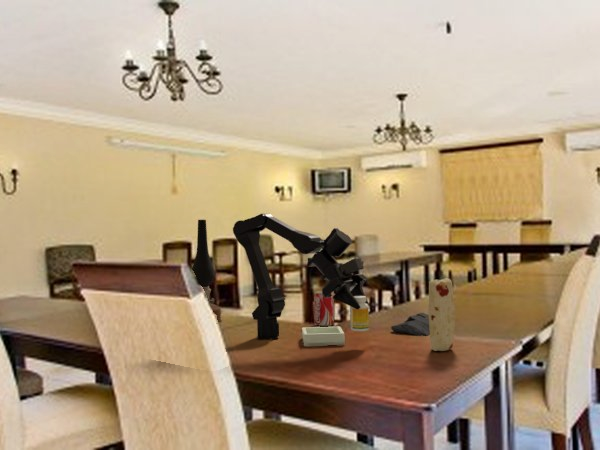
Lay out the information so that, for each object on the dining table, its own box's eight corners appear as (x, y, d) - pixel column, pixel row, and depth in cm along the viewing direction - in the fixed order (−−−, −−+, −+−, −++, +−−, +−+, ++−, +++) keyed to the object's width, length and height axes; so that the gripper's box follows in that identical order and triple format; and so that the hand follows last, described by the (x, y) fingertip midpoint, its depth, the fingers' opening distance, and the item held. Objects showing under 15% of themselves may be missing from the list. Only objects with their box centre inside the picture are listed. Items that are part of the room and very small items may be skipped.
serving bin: (304, 346, 160) (303, 334, 160) (302, 338, 172) (302, 327, 172) (344, 345, 160) (344, 333, 160) (340, 337, 172) (339, 326, 172)
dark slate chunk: (383, 334, 180) (382, 319, 180) (409, 324, 198) (409, 311, 198) (427, 338, 171) (427, 323, 171) (451, 327, 189) (450, 313, 189)
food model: (447, 354, 146) (445, 280, 146) (423, 352, 150) (422, 279, 150) (459, 348, 154) (458, 277, 154) (437, 345, 157) (435, 276, 158)
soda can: (332, 327, 191) (331, 293, 191) (312, 327, 193) (312, 293, 193) (335, 324, 198) (334, 291, 198) (316, 323, 199) (315, 290, 200)
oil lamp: (205, 335, 199) (210, 228, 192) (174, 325, 207) (178, 221, 200) (228, 324, 211) (234, 223, 204) (198, 315, 219) (203, 217, 211)
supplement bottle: (346, 329, 158) (346, 296, 158) (362, 327, 160) (362, 295, 160) (356, 332, 153) (356, 298, 153) (372, 330, 156) (372, 296, 156)
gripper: (330, 249, 151) (367, 291, 145) (360, 247, 167) (394, 285, 161) (307, 277, 155) (341, 318, 149) (338, 272, 171) (370, 310, 165)
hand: (363, 307), depth 156 cm, fingers closed on supplement bottle, 5 cm apart
